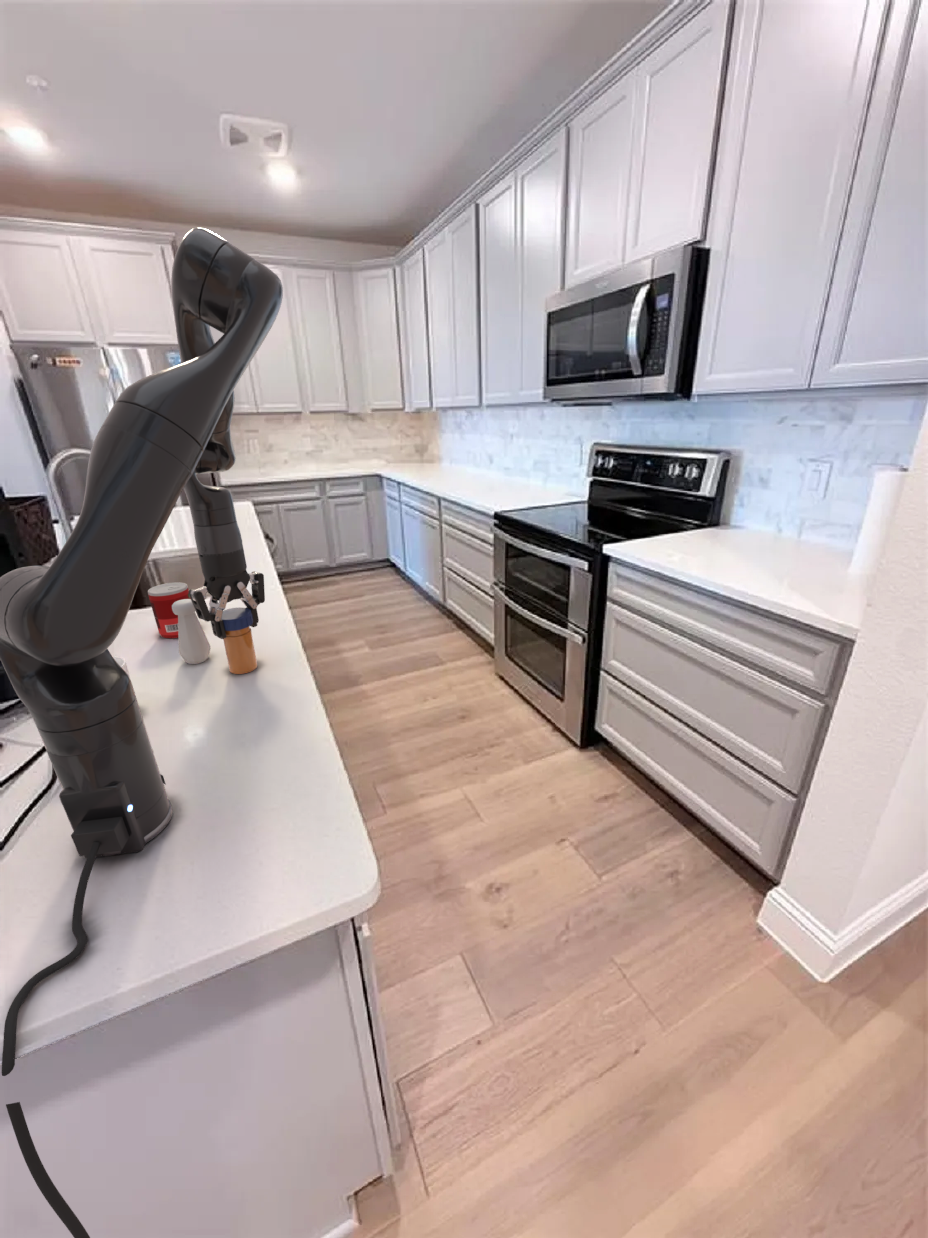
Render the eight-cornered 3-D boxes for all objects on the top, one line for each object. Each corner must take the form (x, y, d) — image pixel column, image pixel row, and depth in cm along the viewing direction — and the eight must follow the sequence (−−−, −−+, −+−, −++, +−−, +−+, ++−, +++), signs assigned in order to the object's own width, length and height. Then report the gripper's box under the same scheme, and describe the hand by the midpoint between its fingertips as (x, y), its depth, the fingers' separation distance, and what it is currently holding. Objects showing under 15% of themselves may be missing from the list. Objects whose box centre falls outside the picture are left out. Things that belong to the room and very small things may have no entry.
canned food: (204, 629, 120) (194, 585, 115) (171, 641, 113) (159, 595, 109) (186, 622, 123) (175, 579, 119) (153, 634, 117) (140, 589, 113)
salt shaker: (200, 667, 102) (185, 607, 97) (175, 665, 103) (159, 605, 98) (218, 654, 107) (205, 596, 102) (194, 652, 108) (180, 595, 103)
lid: (241, 615, 101) (239, 605, 100) (259, 622, 98) (257, 611, 97) (212, 626, 97) (210, 614, 96) (230, 633, 94) (228, 622, 93)
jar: (256, 671, 100) (248, 625, 96) (228, 675, 98) (218, 628, 94) (258, 660, 104) (250, 615, 100) (230, 663, 103) (221, 618, 99)
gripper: (244, 536, 99) (258, 615, 105) (169, 553, 88) (190, 640, 95) (267, 541, 95) (281, 623, 101) (192, 559, 84) (212, 650, 91)
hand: (237, 631), depth 98 cm, fingers closed on lid, 6 cm apart
